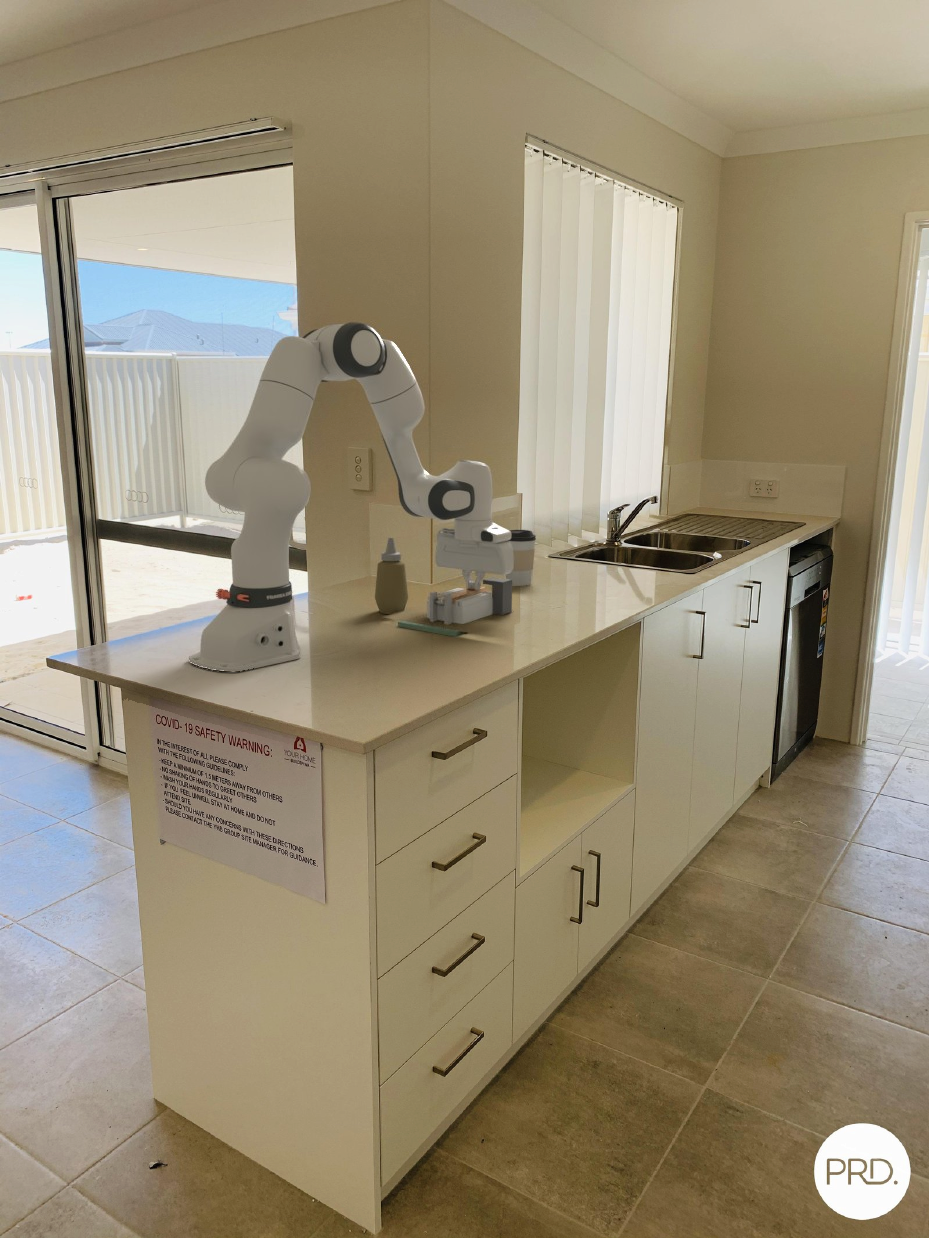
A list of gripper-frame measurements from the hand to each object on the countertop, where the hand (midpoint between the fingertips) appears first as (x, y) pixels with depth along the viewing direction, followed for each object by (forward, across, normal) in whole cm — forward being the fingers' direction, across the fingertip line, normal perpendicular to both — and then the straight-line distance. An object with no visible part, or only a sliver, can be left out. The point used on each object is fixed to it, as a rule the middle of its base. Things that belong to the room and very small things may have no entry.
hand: (473, 589), depth 221 cm
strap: (+1, 0, -5) cm, 5 cm away
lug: (+5, +5, +3) cm, 8 cm away
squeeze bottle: (+6, -18, -8) cm, 21 cm away
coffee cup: (+7, -12, +40) cm, 42 cm away
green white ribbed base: (+6, 0, -6) cm, 9 cm away
